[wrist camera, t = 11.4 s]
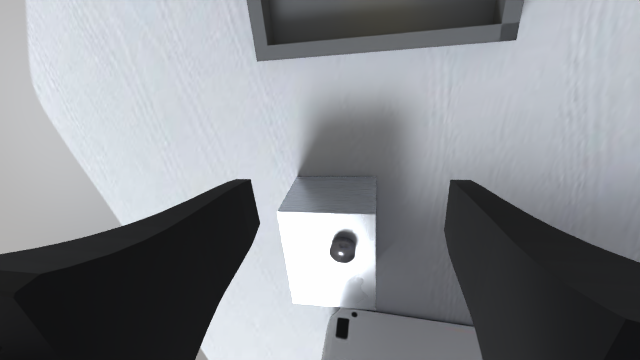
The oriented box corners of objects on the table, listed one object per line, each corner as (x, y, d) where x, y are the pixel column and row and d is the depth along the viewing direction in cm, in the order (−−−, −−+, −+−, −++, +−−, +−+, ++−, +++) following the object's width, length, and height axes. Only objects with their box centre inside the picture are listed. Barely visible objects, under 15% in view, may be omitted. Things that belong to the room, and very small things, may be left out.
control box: (376, 176, 21) (375, 220, 17) (376, 260, 25) (375, 317, 20) (294, 176, 23) (270, 217, 18) (305, 257, 26) (288, 309, 21)
